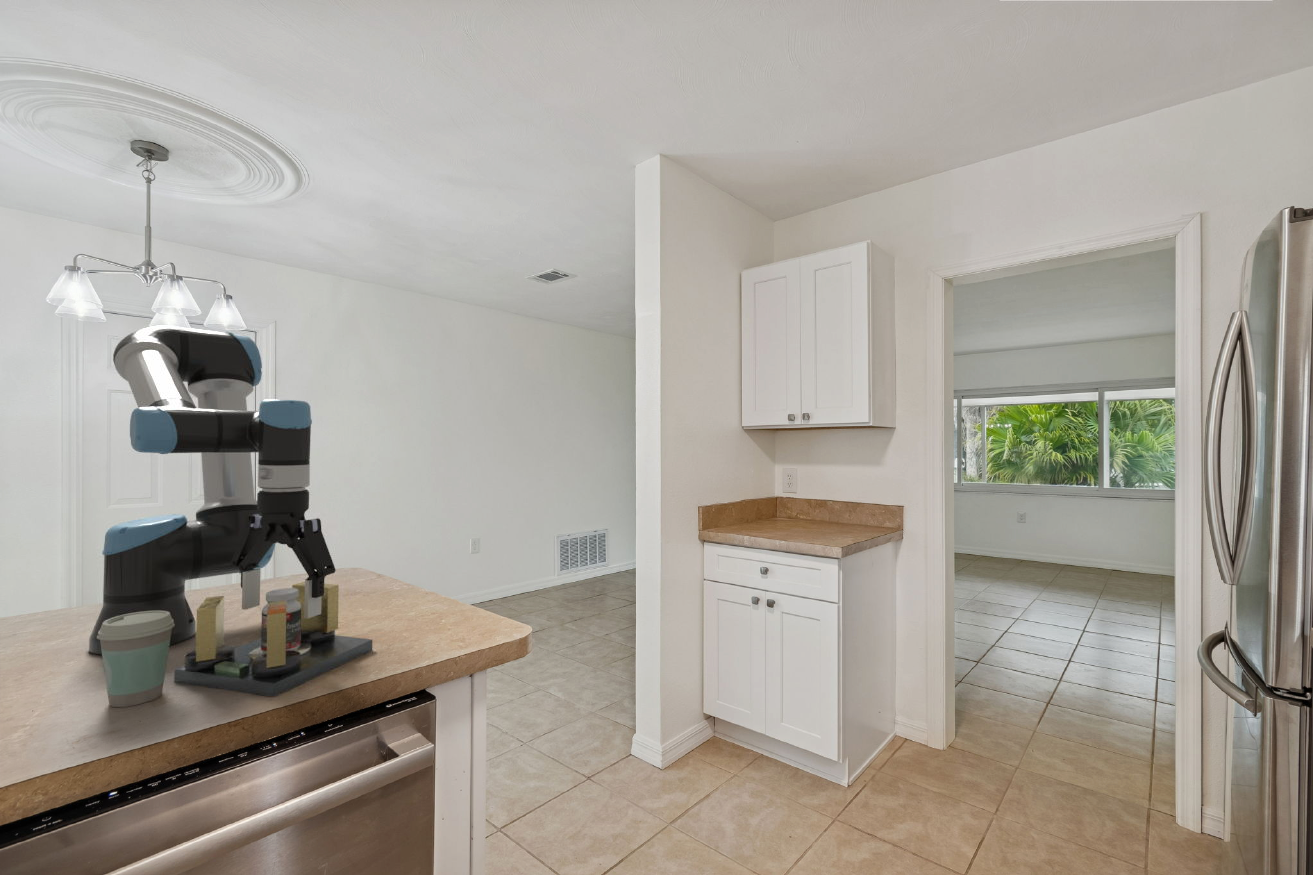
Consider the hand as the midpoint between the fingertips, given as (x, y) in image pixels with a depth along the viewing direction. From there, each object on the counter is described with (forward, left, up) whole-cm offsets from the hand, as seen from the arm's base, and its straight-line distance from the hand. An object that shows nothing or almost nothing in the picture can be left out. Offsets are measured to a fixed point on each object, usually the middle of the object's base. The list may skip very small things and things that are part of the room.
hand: (281, 611), depth 99 cm
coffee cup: (-8, -17, -9) cm, 21 cm away
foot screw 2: (+1, +6, -7) cm, 9 cm away
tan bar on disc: (+7, -7, -7) cm, 12 cm away
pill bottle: (+1, -1, -6) cm, 6 cm away
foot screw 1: (-6, -8, -7) cm, 12 cm away
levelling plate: (+1, -1, -9) cm, 9 cm away
